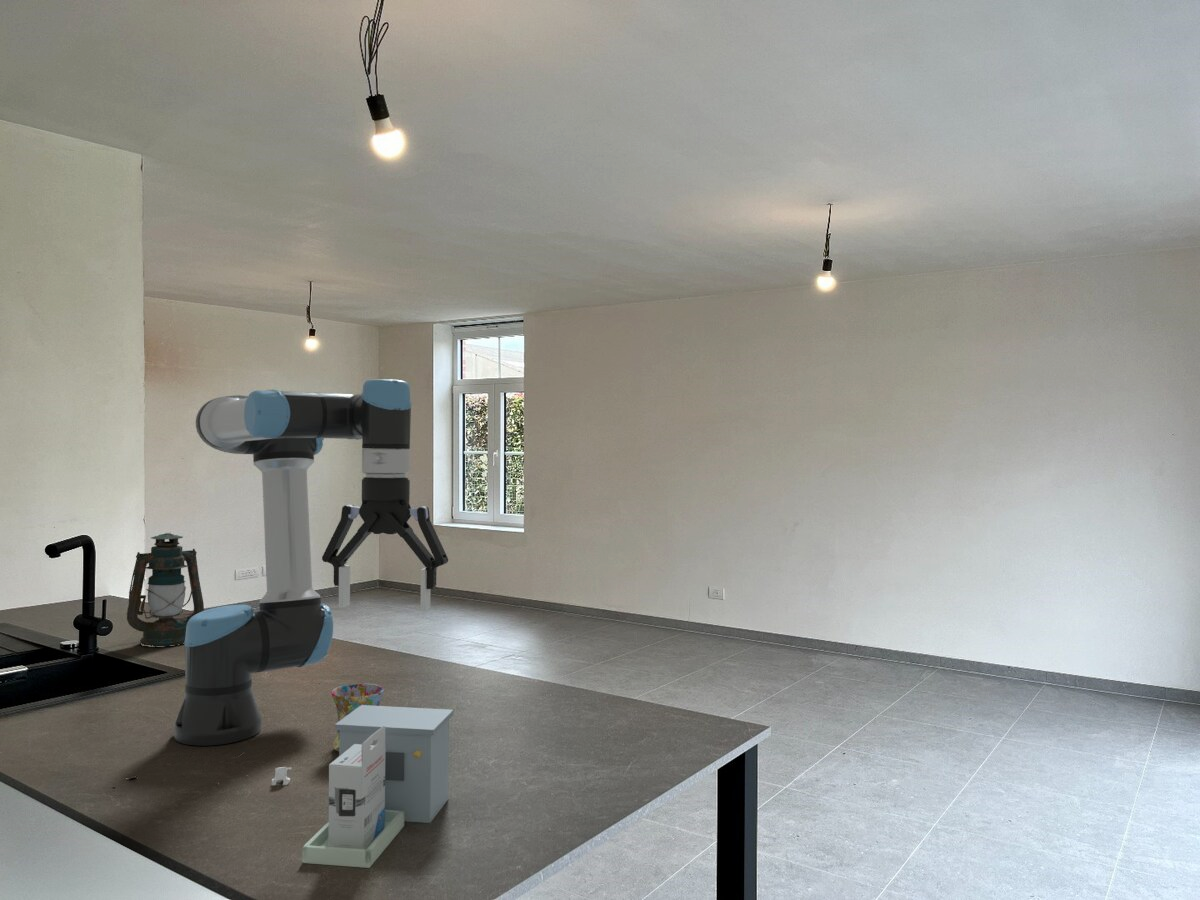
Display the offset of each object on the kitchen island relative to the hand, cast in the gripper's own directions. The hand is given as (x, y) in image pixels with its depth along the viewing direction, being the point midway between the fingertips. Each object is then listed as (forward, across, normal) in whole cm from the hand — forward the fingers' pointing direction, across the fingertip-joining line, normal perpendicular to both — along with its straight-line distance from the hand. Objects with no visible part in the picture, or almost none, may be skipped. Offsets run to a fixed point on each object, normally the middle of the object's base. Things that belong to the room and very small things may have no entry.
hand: (384, 608), depth 145 cm
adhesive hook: (+29, -17, 0) cm, 34 cm away
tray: (+29, +4, -20) cm, 35 cm away
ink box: (+28, +4, -20) cm, 35 cm away
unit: (+29, +5, -8) cm, 30 cm away
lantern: (+29, -96, +89) cm, 134 cm away
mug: (+29, -12, +17) cm, 36 cm away
